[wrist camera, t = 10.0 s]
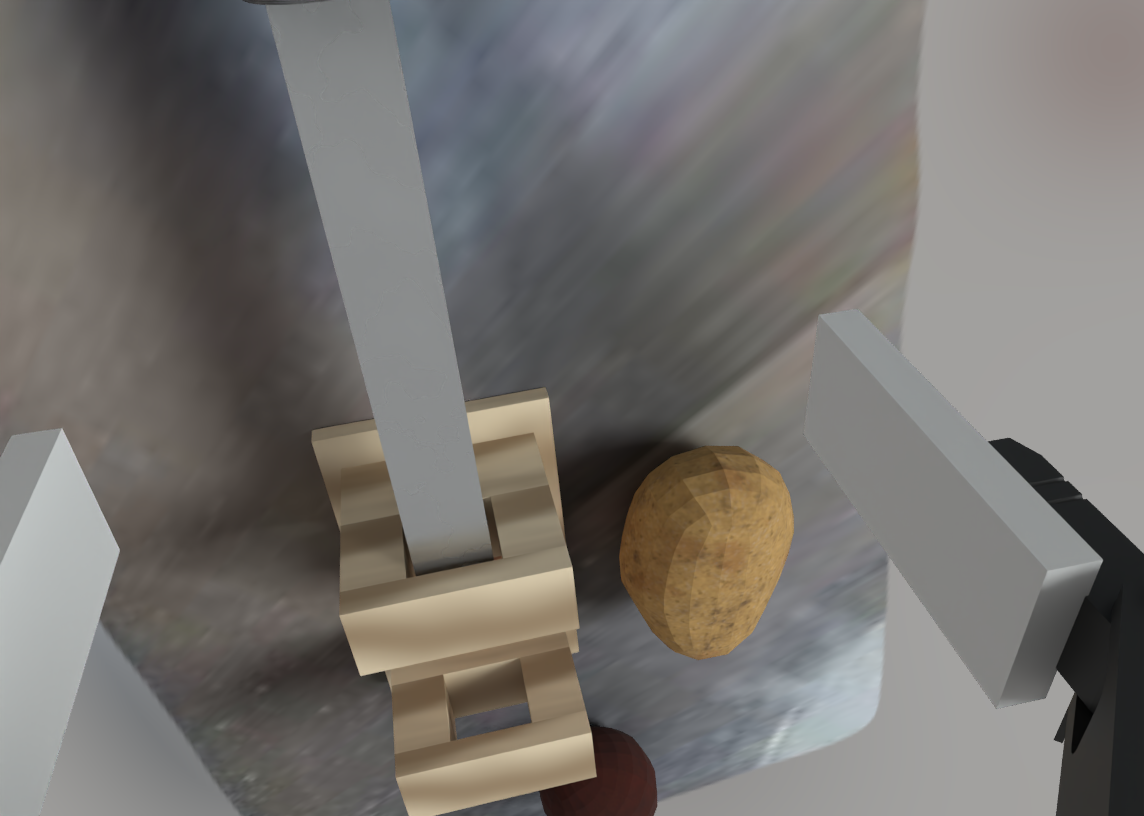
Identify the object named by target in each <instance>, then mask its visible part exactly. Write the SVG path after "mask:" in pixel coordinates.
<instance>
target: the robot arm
mask: <svg viewBox="0 0 1144 816" xmlns="http://www.w3.org/2000/svg"><path fill="white" fill-rule="evenodd" d="M803 435H804V436H805V438H806V439H807V441H808V442H809V443H810V445H811V446H812V448H813V449H814V450H815V452H816V453H817V455H818V456H819V458H820V459H821V460H822V462H823V463H824V465H825V466H826V468H827V469H828V470H829V472H830V473H831V475H832V476H833V477H834V479H835V480H836V482H837V483H838V485H839V486H840V487H841V489H842V490H843V492H844V493H845V495H846V496H847V497H848V499H849V500H850V502H851V503H852V504H853V506H854V507H855V509H856V510H857V512H858V513H859V514H860V516H861V517H862V519H863V520H864V522H865V523H866V524H867V526H868V527H869V529H870V530H871V532H872V533H873V534H874V536H875V537H876V539H877V540H878V541H879V543H880V544H881V546H882V547H883V549H884V550H885V551H886V553H887V554H888V556H889V557H890V559H891V560H892V561H893V563H894V564H895V566H896V567H897V568H898V570H899V571H900V573H901V574H902V576H903V577H904V578H905V580H906V581H907V583H908V584H909V585H910V587H911V588H912V590H913V591H914V593H915V594H916V595H917V597H918V598H919V600H920V601H921V602H922V604H923V605H924V607H925V608H926V610H927V611H928V612H929V614H930V615H931V617H932V618H933V620H934V621H935V623H936V624H937V625H938V627H939V628H940V630H941V631H942V632H943V634H944V635H945V637H946V638H947V639H948V641H949V642H950V644H951V645H952V646H953V648H954V650H955V651H956V652H957V654H958V655H959V657H960V658H961V659H962V661H963V662H964V664H965V665H966V667H967V668H968V669H969V671H970V672H971V674H972V675H973V677H974V678H975V679H976V681H977V682H978V684H979V685H980V687H981V688H982V689H983V691H984V692H985V694H986V695H987V696H988V698H989V699H990V701H991V702H992V704H993V705H994V706H995V708H996V709H999V708H1004V707H1008V706H1013V705H1017V704H1022V703H1026V702H1031V701H1035V700H1040V699H1044V698H1046V696H1047V693H1048V691H1049V689H1050V686H1051V684H1052V681H1053V679H1054V676H1055V674H1056V672H1057V670H1058V672H1060V674H1061V675H1062V677H1063V678H1064V679H1065V680H1066V681H1067V683H1068V684H1069V685H1070V686H1071V688H1072V689H1073V690H1074V691H1075V693H1074V695H1073V698H1072V700H1071V702H1070V704H1069V707H1068V709H1067V711H1066V713H1065V716H1064V718H1063V720H1062V723H1061V725H1060V727H1059V729H1058V731H1057V734H1056V736H1055V738H1054V740H1055V741H1058V742H1061V743H1063V741H1064V739H1065V741H1064V750H1063V759H1062V767H1061V776H1060V785H1059V794H1058V803H1057V811H1056V816H1144V554H1143V553H1142V552H1141V551H1140V550H1139V549H1138V548H1137V547H1136V546H1135V545H1134V544H1133V543H1132V542H1131V541H1130V540H1129V539H1128V538H1127V537H1126V536H1125V535H1124V534H1123V533H1122V532H1121V531H1119V530H1118V529H1117V528H1116V527H1115V526H1114V525H1113V524H1112V523H1111V522H1110V521H1109V520H1108V519H1107V518H1106V517H1105V516H1104V515H1103V514H1102V513H1101V512H1100V511H1099V510H1097V508H1096V507H1095V506H1094V505H1092V504H1091V503H1090V502H1089V501H1088V500H1087V499H1083V498H1082V494H1081V493H1080V492H1079V491H1078V490H1077V489H1076V488H1075V487H1074V486H1072V484H1070V482H1068V481H1066V482H1065V481H1064V477H1063V476H1062V475H1061V474H1060V473H1059V472H1058V471H1057V470H1056V469H1055V468H1054V467H1053V466H1052V465H1051V464H1050V463H1049V462H1048V461H1047V460H1046V459H1045V458H1043V456H1042V455H1040V454H1038V453H1036V452H1035V451H1033V450H1031V449H1029V448H1027V447H1025V446H1023V445H1022V444H1020V443H1018V442H1016V441H1014V440H1013V439H1011V438H1005V439H999V440H994V441H986V439H984V437H983V436H982V435H981V434H980V433H979V432H978V431H977V430H976V429H975V428H974V427H973V426H972V425H971V424H970V423H969V422H968V421H967V420H966V419H965V418H964V417H963V416H962V415H961V414H960V413H959V412H958V411H957V410H956V409H955V408H954V407H953V406H952V405H951V404H950V403H949V402H948V401H947V400H946V399H945V398H944V396H943V395H942V394H941V393H940V392H939V391H938V390H937V389H936V388H935V387H934V386H933V385H932V384H931V383H930V382H929V381H928V380H927V379H926V378H925V377H924V376H923V375H922V374H921V373H920V372H919V371H918V370H917V369H916V368H915V367H914V366H913V365H912V364H911V363H910V362H909V361H908V360H907V359H906V358H905V357H904V356H903V355H902V354H901V353H900V352H899V350H898V349H897V348H896V347H895V346H894V345H893V344H892V343H891V342H890V341H889V340H888V339H887V338H886V337H885V336H884V335H883V334H882V333H881V332H880V331H879V330H878V329H877V328H876V327H875V326H874V325H873V324H872V323H871V322H870V321H869V320H868V319H867V318H866V317H865V316H864V315H863V314H862V313H861V312H860V311H859V310H858V309H854V310H847V311H840V312H834V313H827V314H820V315H819V317H818V325H817V332H816V340H815V348H814V356H813V363H812V371H811V379H810V387H809V394H808V402H807V410H806V418H805V425H804V433H803ZM119 551H120V549H119V547H118V545H117V543H116V541H115V539H114V537H113V534H112V532H111V530H110V528H109V526H108V524H107V522H106V520H105V518H104V515H103V513H102V511H101V509H100V507H99V505H98V503H97V501H96V499H95V497H94V494H93V492H92V490H91V488H90V486H89V484H88V482H87V480H86V478H85V476H84V473H83V471H82V469H81V467H80V465H79V463H78V461H77V459H76V457H75V454H74V452H73V450H72V448H71V446H70V444H69V442H68V440H67V438H66V436H65V433H64V431H63V429H62V428H59V429H52V430H46V431H39V432H32V433H26V434H19V435H12V436H11V438H10V440H9V442H8V444H7V446H6V448H5V450H4V452H3V454H2V456H1V457H0V816H40V813H41V810H42V807H43V803H44V800H45V797H46V793H47V790H48V787H49V783H50V780H51V777H52V773H53V770H54V767H55V763H56V760H57V756H58V754H59V750H60V747H61V744H62V740H63V737H64V734H65V730H66V727H67V724H68V720H69V717H70V714H71V710H72V707H73V704H74V700H75V697H76V694H77V690H78V687H79V684H80V680H81V677H82V674H83V671H84V667H85V664H86V661H87V657H88V654H89V651H90V648H91V644H92V641H93V638H94V634H95V631H96V628H97V624H98V621H99V618H100V614H101V611H102V608H103V604H104V601H105V598H106V595H107V591H108V588H109V585H110V581H111V578H112V575H113V571H114V568H115V565H116V561H117V558H118V555H119Z"/></svg>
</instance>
